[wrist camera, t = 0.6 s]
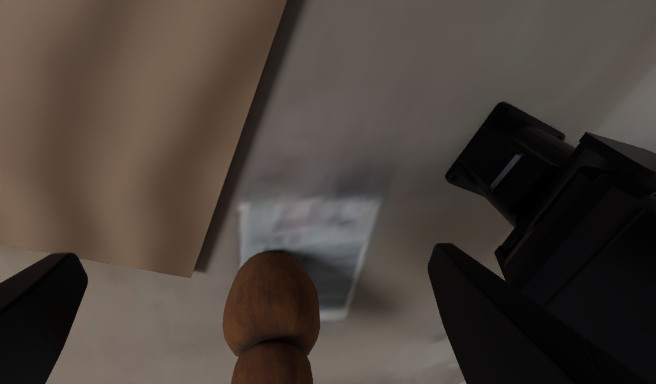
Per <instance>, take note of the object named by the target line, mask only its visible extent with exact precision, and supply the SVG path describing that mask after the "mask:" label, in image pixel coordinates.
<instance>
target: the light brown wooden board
mask: <svg viewBox="0 0 656 384" xmlns="http://www.w3.org/2000/svg"><path fill="white" fill-rule="evenodd" d="M286 2H287V0H0V244H4V245H9V246H15V247H20V248H26V249H31V250H37V251H42V252H48V253H63V252H72V253H75V254H76V255H77V256H78V258H81V259H87V260H92V261H98V262H104V263H109V264H115V265H120V266H126V267H131V268H137V269H142V270H148V271H153V272H159V273H165V274H170V275H176V276H181V277H187V278H191V276H192V274H193V271H194V268H195V265H196V262H197V259H198V256H199V253H200V250H201V248H202V245H203V242H204V239H205V236H206V233H207V230H208V227H209V224H210V222H211V219H212V216H213V213H214V210H215V207H216V204H217V201H218V198H219V196H220V193H221V190H222V187H223V184H224V181H225V178H226V175H227V172H228V170H229V167H230V164H231V161H232V158H233V155H234V152H235V149H236V146H237V143H238V141H239V138H240V135H241V132H242V129H243V126H244V123H245V120H246V117H247V115H248V112H249V109H250V106H251V103H252V100H253V97H254V94H255V91H256V89H257V86H258V83H259V80H260V77H261V74H262V71H263V68H264V65H265V63H266V60H267V57H268V54H269V51H270V48H271V45H272V42H273V39H274V37H275V34H276V31H277V28H278V25H279V22H280V19H281V16H282V13H283V11H284V8H285V5H286Z"/></svg>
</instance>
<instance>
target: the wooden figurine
mask: <svg viewBox="0 0 656 384" xmlns="http://www.w3.org/2000/svg"><path fill="white" fill-rule="evenodd" d="M319 330H320V314H319V302H318V295H317V291H316V289H315V286H314V284H313V282H312V280H311V278H310V277H309V275H308V273H307V272H306V271H305V270H304V268H303V267H302V266H301V265H300V264H299V262H298V261H296V260H295V259H293V258H292V257H290V256H288V255H285V254H282V253H277V252H270V251H269V252H263V253H258V254H256V255H254V256H253V257H251V258H249V259H248V260H247V261H246V262H245V263H244V265H243V266H242V267H241V268H240V270H239V271H238V273H237V275H236V277H235V279H234V282H233V284H232V287H231V289H230V292H229V295H228V298H227V301H226V305H225V310H224V315H223V332H224V337H225V340H226V342H227V344H228V345H229V347H230V349H231V350H232V351H233V353H234V354H235V355H236V356H238V357H239V358H238V360H237V362H236V365H235V368H234V372H233V377H232V382H231V384H313V378H312V372H311V366H310V362H309V360H308V358H307V356H308V354H309V353H310V351H311V350H312V348H313V346H314V344H315V342H316V340H317V338H318V334H319Z"/></svg>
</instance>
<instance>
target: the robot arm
mask: <svg viewBox="0 0 656 384" xmlns="http://www.w3.org/2000/svg"><path fill="white" fill-rule="evenodd" d="M503 108H505V109H504V111H503V112H501V111H502V109H503ZM564 139H565V135H564V134H563V133H561V132H560V131H558V130H556V129H554V128H552V127H551V126H549V125H547V124H545V123H543V122H541V121H540V120H538V119H536V118H534V117H532V116H530V115H529V114H527V113H525V112H523V111H521V110H519V109H518V108H516V107H514V106H512V105H510V104H508V103H506V102H501V103H499V104H498V105H497V106H496V107H495V108H494V109H493V111H492V112H491V114H490V115H489V116H488V118H487V119H486V120H485V122H484V123H483V124H482V126H481V127H480V128H479V130H478V131H477V133H476V134H475V135H474V137H473V138H472V139H471V141H470V142H469V143H468V145H467V146H466V147H465V149H464V150H463V152H462V153H461V154H460V156H459V157H458V158H457V160H456V161H455V162H454V164H453V165H452V166H451V168H450V169H449V171H448V172H447V173H446V175H445V178H446V180H447V181H448V182H449V183H450V184H453V185H455V186H458V187H461V188H463V189H466V190H468V191H471V192H474V193H476V194H479V195H481V196H484V197H485V198H486V199H487V200H488V201H489V202H490V203H491V204H492V205H493V206H494V207H495V208H496V209H497V210H498V211H499V212H500V213H501V214H502V215H503V216H504V217H505V219H506V220H507V221H508V222H509V223H510V224H511V225H512V226H513V227H514V230H513V231H512V232H511V234H510V235H509V236H508V237H507V239H506V240H505V241H504V243H503V244H502V245H501V246H499V247H498V248H497V249H496V251H495V252H494V253H495V256H496V258H497V261H498V263H499V266H500V268H501V270H502V273H503V275H504V278H505V280H506V281H505V280H503V279H502V278H500V277H499V276H497V275H496V274H495V273H493V272H492V271H490V270H489V269H488V268H486V267H485V266H483V265H482V264H480V263H479V262H478V261H476V260H475V259H473V258H472V257H470V256H469V255H468V254H466V253H465V252H463V251H462V250H460V249H459V248H458V247H456V246H455V245H453V244H451V243H438V244H436V245H435V246H434V249H433V251H432V254H431V257H430V260H429V263H428V274H429V277H430V281H431V284H432V288H433V291H434V295H435V299H436V302H437V306H438V309H439V313H440V316H441V319H442V323H443V326H444V328H445V331H446V334H447V336H448V339H449V341H450V344H451V346H452V349H453V351H454V354H455V356H456V359H457V361H458V364H459V366H460V369H461V371H462V374H463V376H464V379H465V381H466V383H467V384H656V154H655V153H653V152H651V151H648V150H646V149H643V148H639V147H636V146H633V145H629V144H626V143H622V142H619V141H615V140H612V139H609V138H605V137H602V136H598V135H595V134H591V133H588V132H585V134H584V135H583V136H582V138H581V139H580V140H579V142H580V143H579V145H578V146H577V147H576V148H574V147H572V146H571V145H569V144H567V143H565V142H563V141H564ZM454 175H455V176H454ZM452 176H454V177H453V178H451V177H452ZM87 284H88V277H87V274H86V272H85V270H84V268H83V266H82V264H81V262H80V260H79V258H78V256H77V255H76V254H75V253H72V252H63V253H53V254H50V255H49V256H47V257H45V258H43V259H42V260H40V261H38V262H36V263H35V264H33V265H31V266H29V267H28V268H26V269H24V270H22V271H21V272H19V273H17V274H16V275H14V276H12V277H10V278H9V279H7V280H5V281H3V282H2V283H0V384H45V383H46V381H47V379H48V377H49V375H50V373H51V371H52V369H53V367H54V365H55V363H56V361H57V360H58V357H59V355H60V353H61V351H62V349H63V347H64V345H65V342H66V340H67V337H68V335H69V332H70V330H71V327H72V324H73V322H74V319H75V316H76V314H77V311H78V308H79V306H80V303H81V301H82V298H83V295H84V293H85V290H86V287H87Z"/></svg>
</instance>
